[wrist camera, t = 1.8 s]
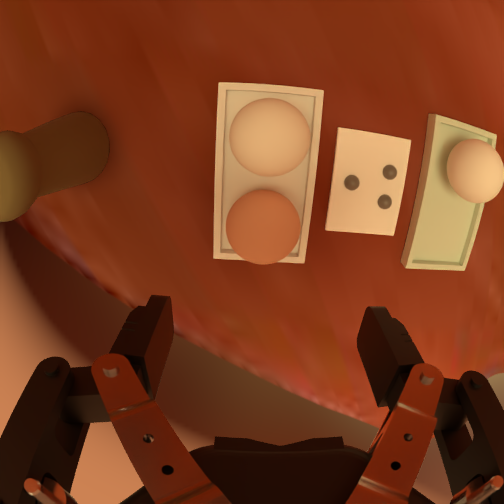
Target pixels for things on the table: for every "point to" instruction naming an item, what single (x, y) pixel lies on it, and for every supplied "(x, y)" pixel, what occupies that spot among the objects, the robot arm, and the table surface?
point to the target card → (367, 182)
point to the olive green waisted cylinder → (49, 160)
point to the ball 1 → (269, 137)
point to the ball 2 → (263, 227)
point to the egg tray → (243, 181)
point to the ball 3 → (475, 171)
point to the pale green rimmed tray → (442, 202)
